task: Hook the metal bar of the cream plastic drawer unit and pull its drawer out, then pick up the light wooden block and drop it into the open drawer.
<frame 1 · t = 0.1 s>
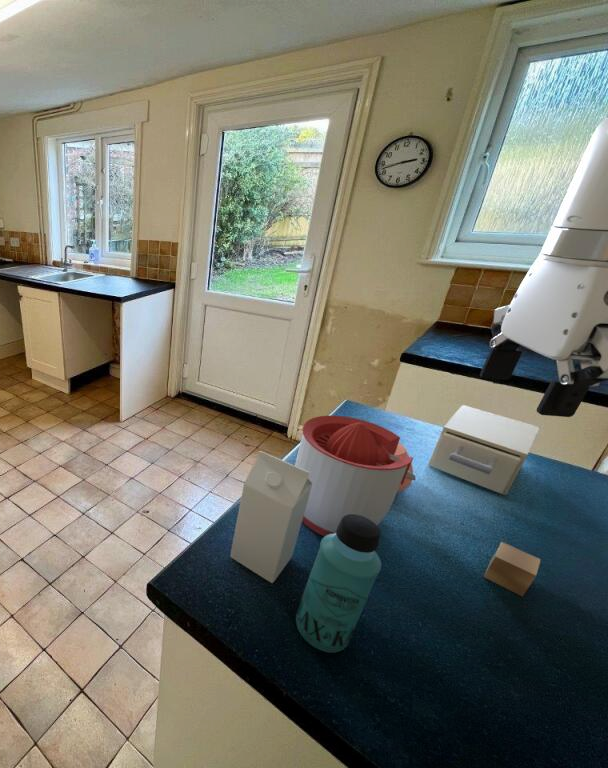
hand: (521, 394, 50), 31 cm above the worktop, tool pointing down, fingers open, 9 cm apart
drawer: (476, 455, 83), point 5 cm above the worktop, slide at 0.5 cm
beverage bottle: (318, 638, 55), on the worktop
milk carton: (260, 558, 67), on the worktop
cabinet: (473, 465, 88), on the worktop
citrus juicer: (335, 520, 74), on the worktop
sugar bowl: (366, 478, 85), on the worktop
block: (505, 578, 63), on the worktop
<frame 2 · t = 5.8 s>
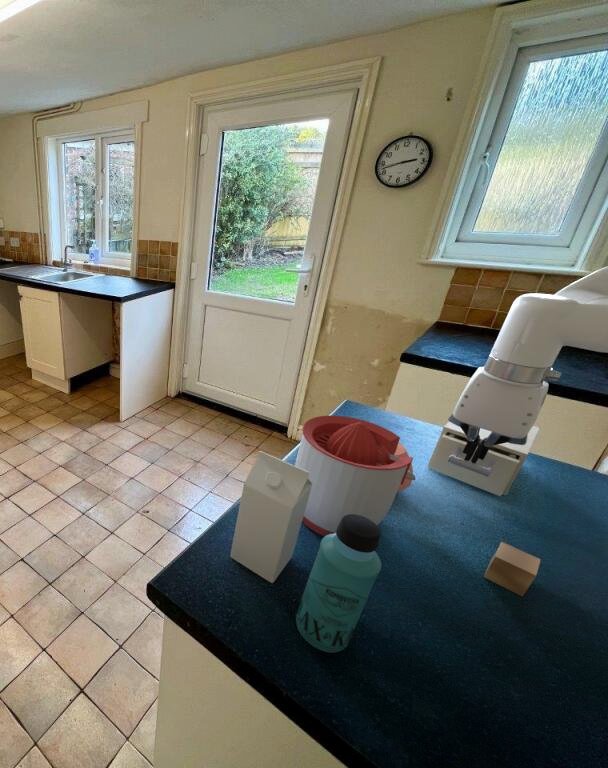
hand: (471, 459, 77), 8 cm above the worktop, tool pointing down, fingers closed
drawer: (475, 457, 83), point 5 cm above the worktop, slide at 1.6 cm, touching gripper
everything else where it was.
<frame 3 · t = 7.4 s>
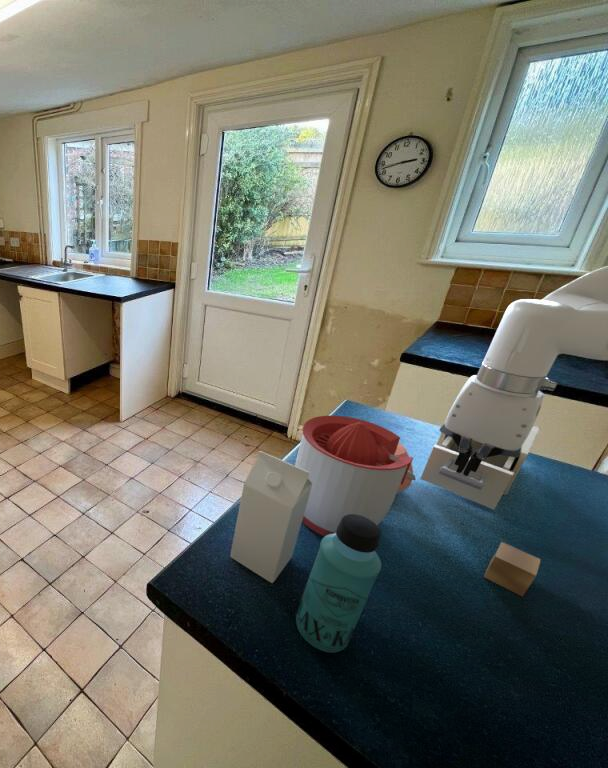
hand: (463, 470, 74), 8 cm above the worktop, tool pointing down, fingers closed
drawer: (468, 469, 79), point 5 cm above the worktop, slide at 7.1 cm, touching gripper
everything else where it was.
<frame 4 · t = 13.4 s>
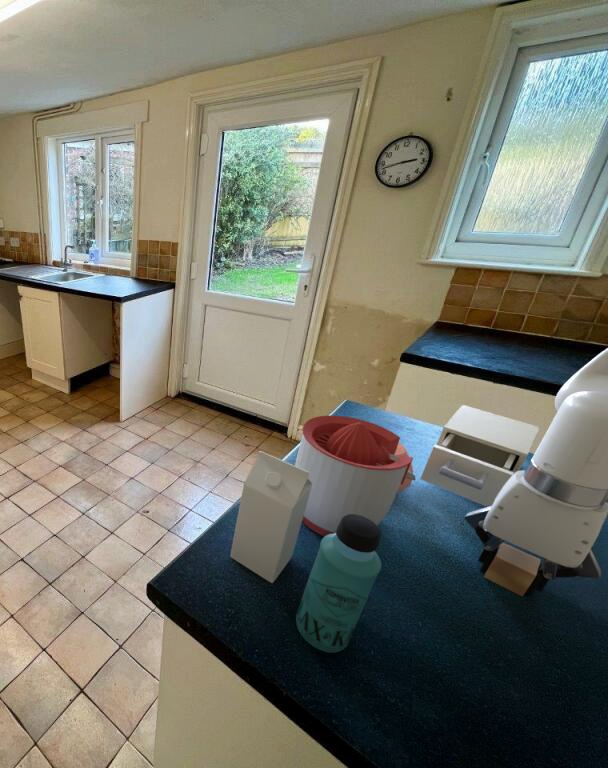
hand: (506, 576, 63), 0 cm above the worktop, tool pointing down, fingers closed on block, 4 cm apart
drawer: (468, 469, 79), point 5 cm above the worktop, slide at 7.1 cm
block: (505, 578, 63), on the worktop, touching gripper
everything else where it was.
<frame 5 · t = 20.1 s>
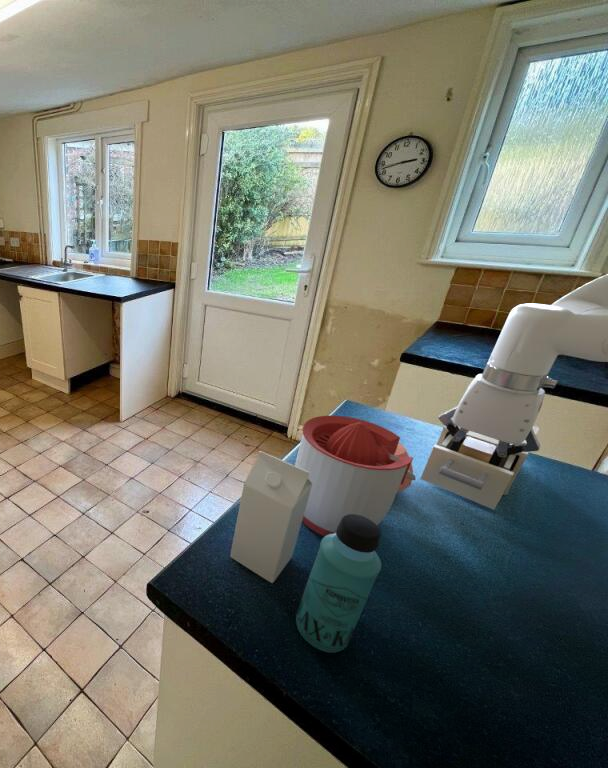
hand: (470, 462, 79), 6 cm above the worktop, tool pointing down, fingers closed on block, 4 cm apart
drawer: (468, 469, 79), point 5 cm above the worktop, slide at 7.1 cm, touching gripper
block: (470, 464, 79), point 6 cm above the worktop, touching gripper
everything else where it was.
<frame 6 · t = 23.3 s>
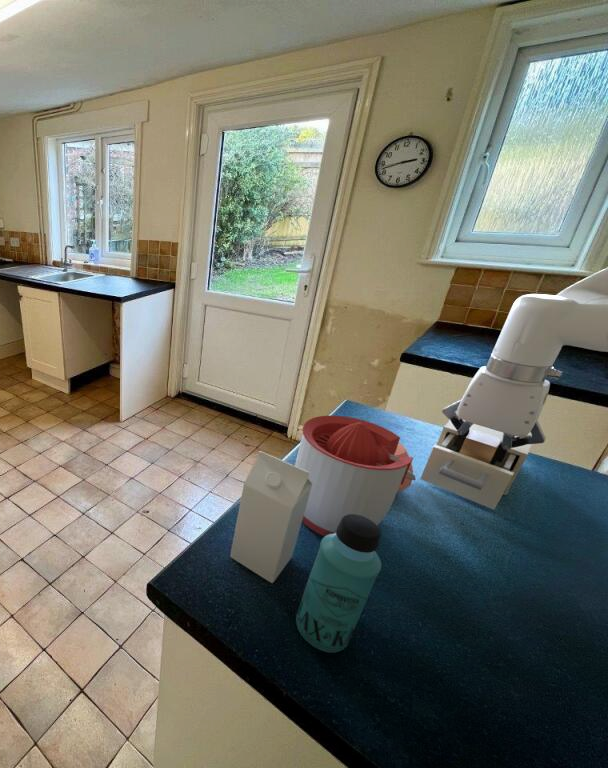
hand: (475, 456, 78), 8 cm above the worktop, tool pointing down, fingers closed on block, 4 cm apart
drawer: (468, 469, 79), point 5 cm above the worktop, slide at 7.2 cm
block: (474, 457, 78), point 7 cm above the worktop, touching gripper
everything else where it was.
when the fingers open (9 cm above the worktop, at t = 33.4 s): block drops 7 cm, resting on drawer.
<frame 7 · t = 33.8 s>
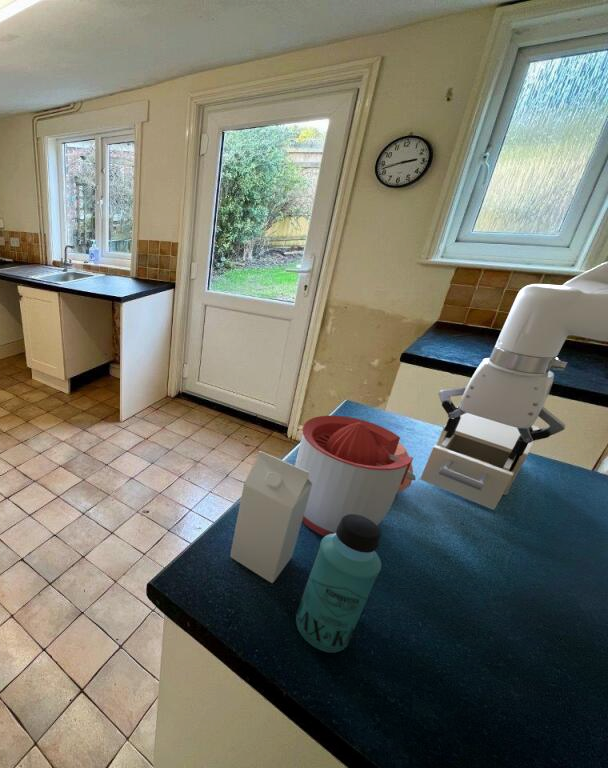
hand: (479, 445, 77), 10 cm above the worktop, tool pointing down, fingers open, 8 cm apart
drawer: (468, 469, 79), point 5 cm above the worktop, slide at 7.3 cm, touching block
block: (463, 480, 81), point 2 cm above the worktop, touching drawer
everything else where it was.
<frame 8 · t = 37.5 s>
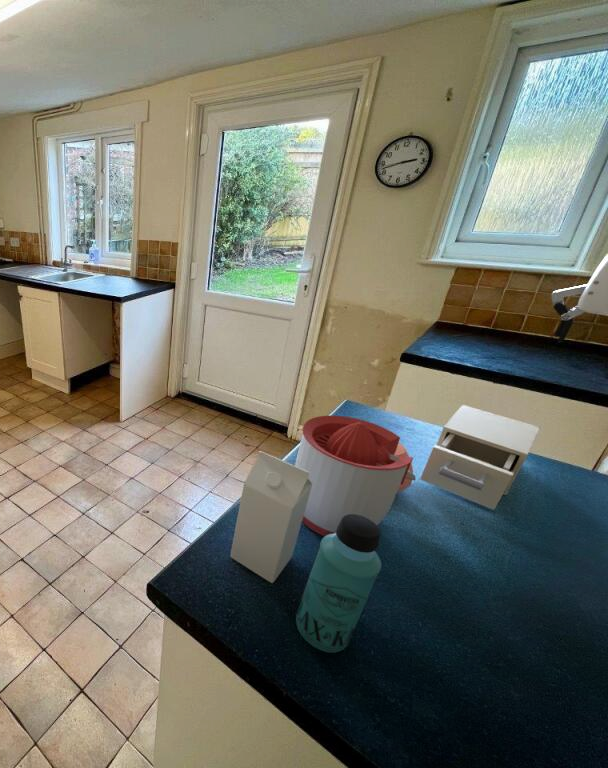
hand: (599, 348, 72), 28 cm above the worktop, tool pointing down, fingers open, 9 cm apart
nothing on the worktop moved.
at the end: drawer slide at 7.3 cm; block inside the target area in the drawer (1.5 cm from its centre), point 2.0 cm above the cabinet's base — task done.
